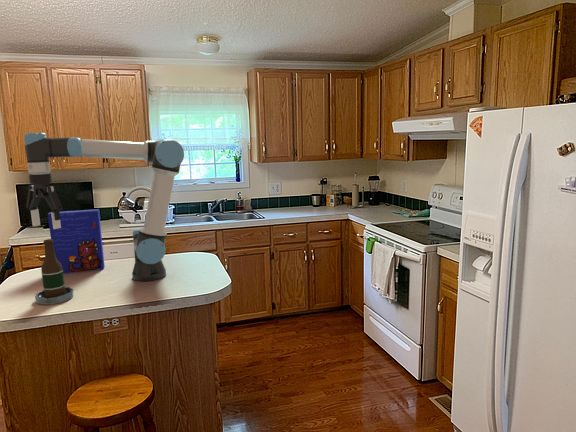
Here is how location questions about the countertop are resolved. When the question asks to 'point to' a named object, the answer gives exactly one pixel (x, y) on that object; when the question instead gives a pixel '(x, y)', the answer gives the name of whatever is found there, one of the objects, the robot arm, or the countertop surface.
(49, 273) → the beer bottle
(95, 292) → the countertop surface
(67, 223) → the cereal box
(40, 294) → the dark grey shallow dish
